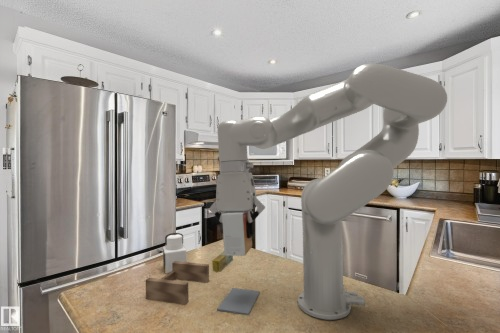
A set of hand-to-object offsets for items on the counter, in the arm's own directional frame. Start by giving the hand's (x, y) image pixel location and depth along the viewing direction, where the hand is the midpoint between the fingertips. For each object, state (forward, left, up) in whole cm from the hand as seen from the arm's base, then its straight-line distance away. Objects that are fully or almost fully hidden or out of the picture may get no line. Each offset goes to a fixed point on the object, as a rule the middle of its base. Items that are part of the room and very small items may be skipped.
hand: (238, 236), depth 65 cm
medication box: (+13, -21, -17) cm, 30 cm away
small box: (0, 0, -4) cm, 4 cm away
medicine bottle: (+29, -15, -17) cm, 36 cm away
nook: (+19, -2, -17) cm, 25 cm away
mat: (0, 0, -17) cm, 17 cm away
